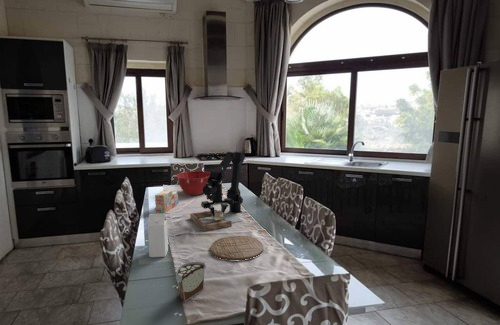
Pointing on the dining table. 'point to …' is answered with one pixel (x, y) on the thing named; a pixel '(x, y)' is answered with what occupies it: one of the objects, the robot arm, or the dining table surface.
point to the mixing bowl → (193, 181)
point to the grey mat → (231, 218)
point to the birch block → (218, 215)
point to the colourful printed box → (166, 201)
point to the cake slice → (190, 279)
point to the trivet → (236, 247)
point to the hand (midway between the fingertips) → (217, 216)
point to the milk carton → (157, 235)
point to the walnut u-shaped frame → (208, 226)
